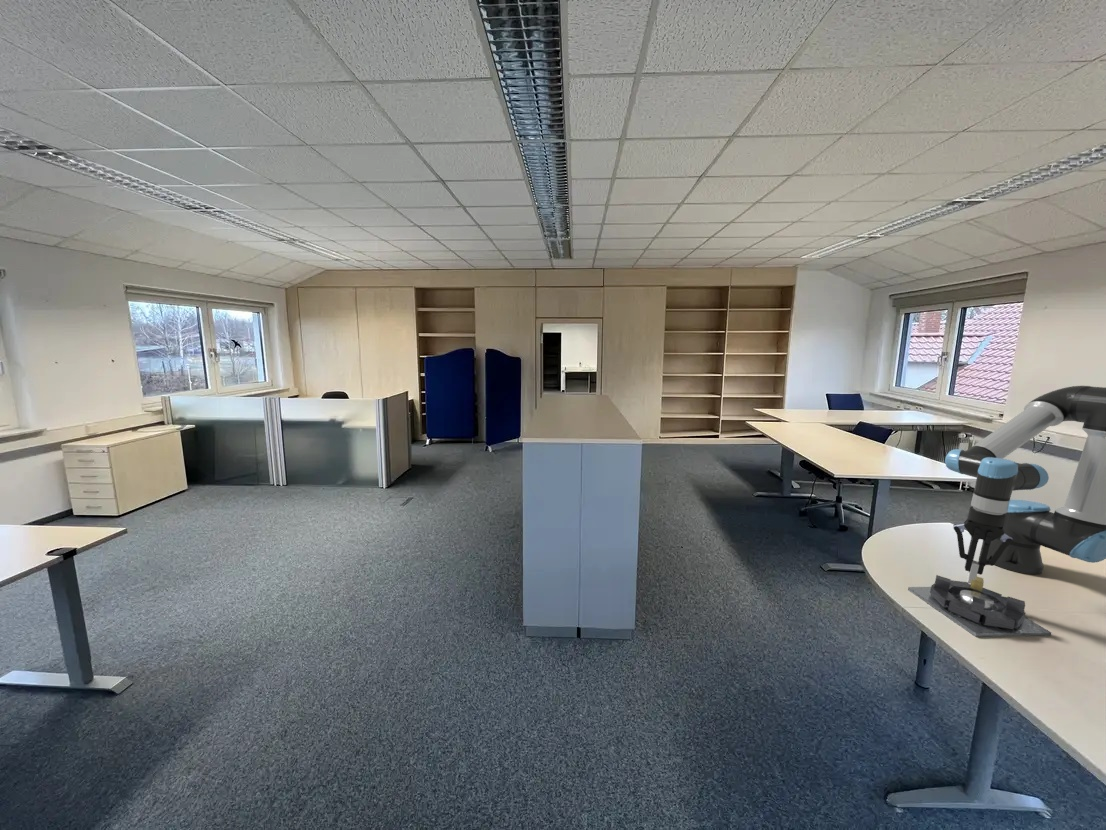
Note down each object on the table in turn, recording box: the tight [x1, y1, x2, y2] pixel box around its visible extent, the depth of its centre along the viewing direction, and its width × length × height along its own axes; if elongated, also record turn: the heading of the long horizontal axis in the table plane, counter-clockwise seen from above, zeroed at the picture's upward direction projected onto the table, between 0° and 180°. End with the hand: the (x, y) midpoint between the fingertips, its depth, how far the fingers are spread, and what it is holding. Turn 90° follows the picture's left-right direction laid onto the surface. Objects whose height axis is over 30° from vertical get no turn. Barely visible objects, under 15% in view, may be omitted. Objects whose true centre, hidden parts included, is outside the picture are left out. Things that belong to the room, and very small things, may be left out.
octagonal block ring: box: [930, 574, 1026, 629], centre depth 122 cm, size 18×18×6 cm
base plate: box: [907, 586, 1052, 638], centre depth 122 cm, size 21×21×4 cm
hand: (970, 581), depth 128 cm, fingers closed
